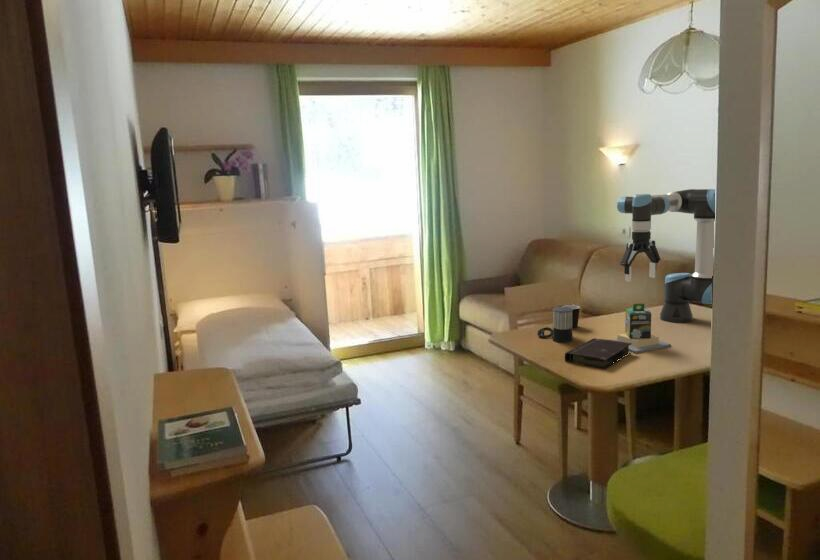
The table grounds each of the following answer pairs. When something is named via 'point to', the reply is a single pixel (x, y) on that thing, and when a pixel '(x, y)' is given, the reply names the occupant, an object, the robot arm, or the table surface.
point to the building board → (642, 349)
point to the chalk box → (638, 322)
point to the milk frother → (560, 325)
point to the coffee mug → (574, 315)
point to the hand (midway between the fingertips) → (640, 279)
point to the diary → (598, 353)
